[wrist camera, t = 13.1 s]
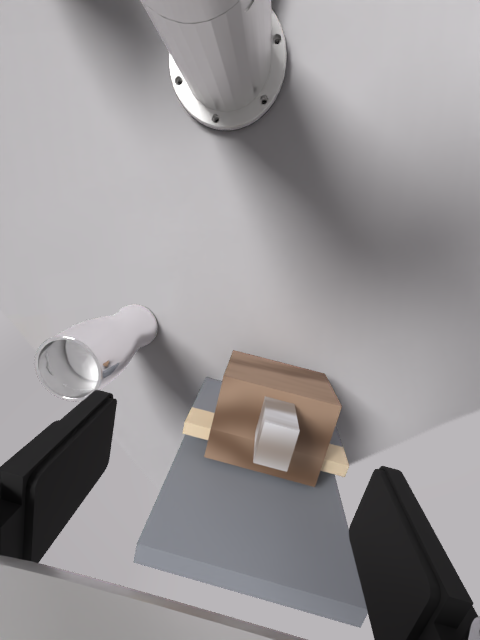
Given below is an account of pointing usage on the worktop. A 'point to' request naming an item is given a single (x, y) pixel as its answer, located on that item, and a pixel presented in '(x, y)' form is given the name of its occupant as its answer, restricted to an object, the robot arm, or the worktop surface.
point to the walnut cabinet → (273, 418)
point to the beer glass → (93, 352)
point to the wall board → (254, 527)
